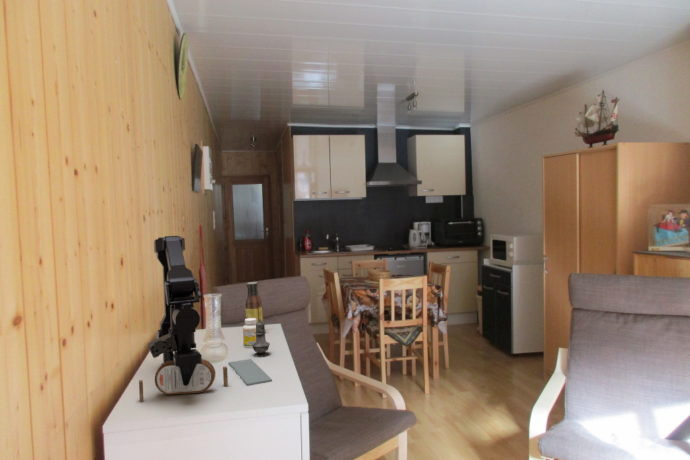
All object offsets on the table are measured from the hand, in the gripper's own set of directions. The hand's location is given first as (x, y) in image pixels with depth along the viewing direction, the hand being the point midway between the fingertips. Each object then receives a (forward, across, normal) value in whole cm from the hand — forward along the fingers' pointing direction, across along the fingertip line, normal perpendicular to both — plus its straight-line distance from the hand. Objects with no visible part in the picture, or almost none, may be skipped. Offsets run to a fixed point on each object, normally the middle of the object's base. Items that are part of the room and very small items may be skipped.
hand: (184, 383), depth 127 cm
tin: (+3, 0, 0) cm, 3 cm away
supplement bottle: (+3, -35, +27) cm, 44 cm away
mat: (+2, -8, +19) cm, 21 cm away
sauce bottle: (+3, -52, +33) cm, 62 cm away
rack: (+2, 0, 0) cm, 3 cm away
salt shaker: (+3, -23, +27) cm, 36 cm away
